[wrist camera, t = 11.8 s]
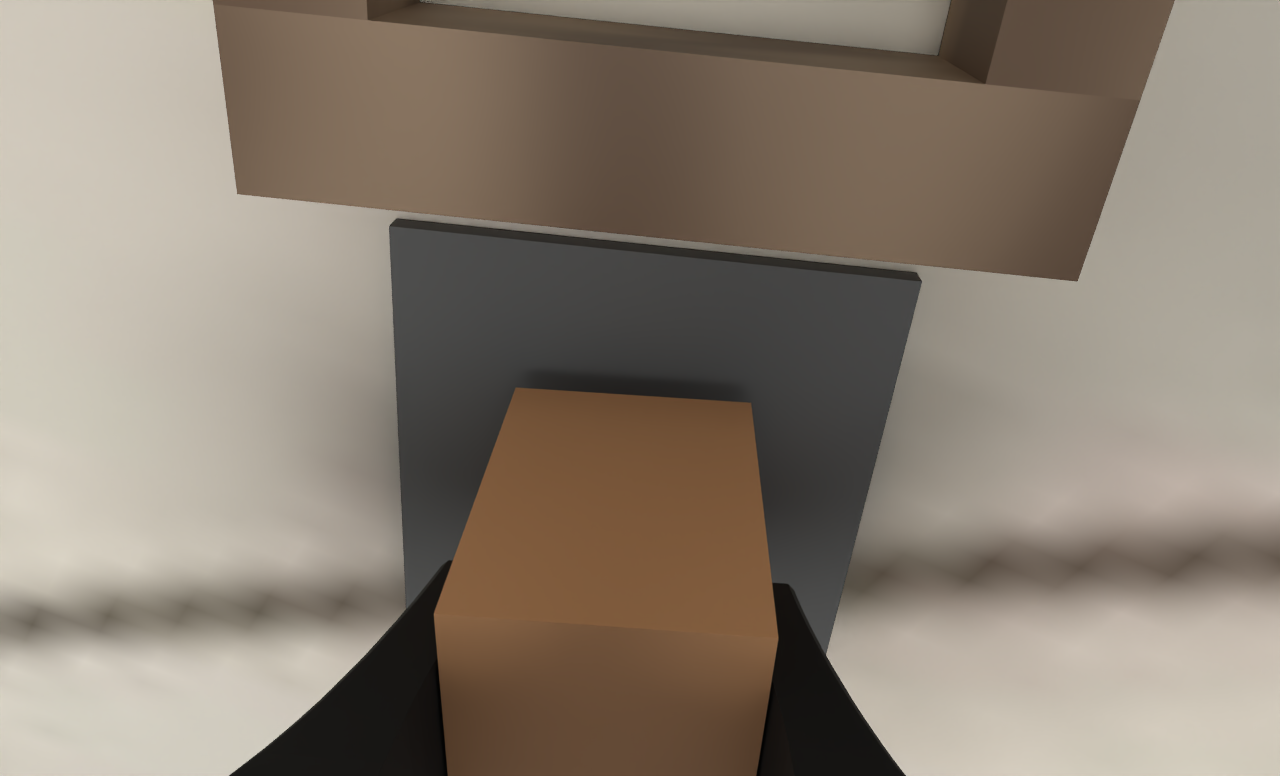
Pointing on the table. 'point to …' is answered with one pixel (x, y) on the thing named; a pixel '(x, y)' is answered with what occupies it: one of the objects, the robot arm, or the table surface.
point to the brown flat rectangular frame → (700, 125)
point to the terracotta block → (611, 594)
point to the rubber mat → (646, 372)
